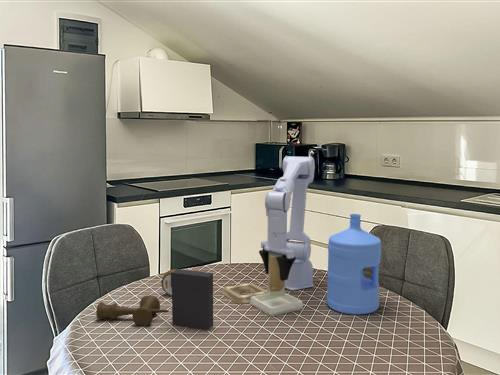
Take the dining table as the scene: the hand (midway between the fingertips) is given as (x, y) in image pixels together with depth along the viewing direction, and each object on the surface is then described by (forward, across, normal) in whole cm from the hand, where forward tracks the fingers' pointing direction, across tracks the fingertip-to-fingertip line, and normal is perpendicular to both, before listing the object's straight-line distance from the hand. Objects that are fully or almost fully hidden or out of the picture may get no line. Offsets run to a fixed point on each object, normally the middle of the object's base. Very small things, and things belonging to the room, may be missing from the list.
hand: (276, 276), depth 149 cm
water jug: (+10, +11, +20) cm, 25 cm away
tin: (+10, -23, -20) cm, 32 cm away
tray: (+10, 0, 0) cm, 10 cm away
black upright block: (+10, 0, -28) cm, 29 cm away
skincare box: (+5, 0, 0) cm, 5 cm away
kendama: (+10, -12, -40) cm, 43 cm away
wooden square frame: (+10, -13, -3) cm, 16 cm away
